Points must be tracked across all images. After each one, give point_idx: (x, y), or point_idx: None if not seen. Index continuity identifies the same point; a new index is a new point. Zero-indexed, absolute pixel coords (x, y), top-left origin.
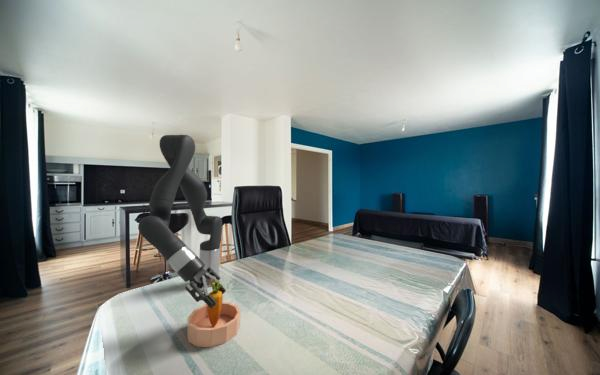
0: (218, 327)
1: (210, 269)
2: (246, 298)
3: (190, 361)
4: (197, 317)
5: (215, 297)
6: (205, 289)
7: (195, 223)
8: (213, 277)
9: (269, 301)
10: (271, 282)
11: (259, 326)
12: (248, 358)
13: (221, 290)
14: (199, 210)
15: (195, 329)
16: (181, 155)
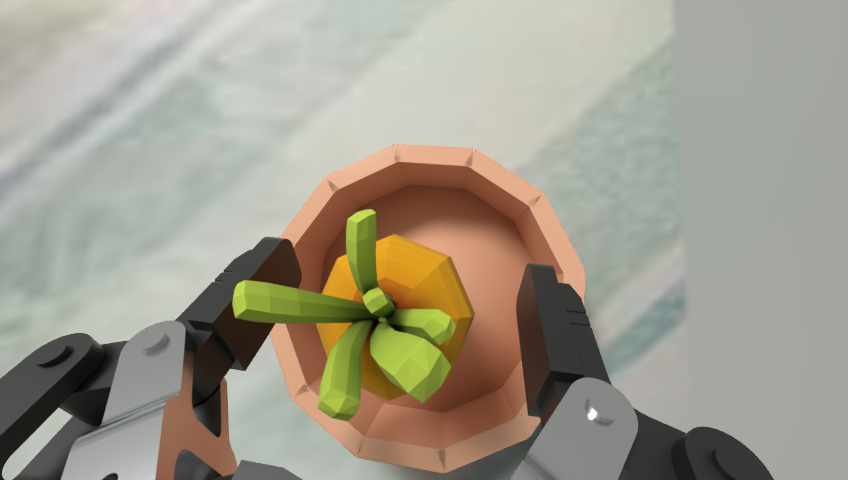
0: (558, 235)
1: None
2: (160, 191)
3: (641, 334)
4: (373, 409)
5: (461, 292)
6: (567, 477)
7: None
8: (112, 459)
9: (206, 69)
10: (5, 81)
11: (413, 89)
12: (618, 101)
13: (276, 277)
14: None
15: None
16: None
